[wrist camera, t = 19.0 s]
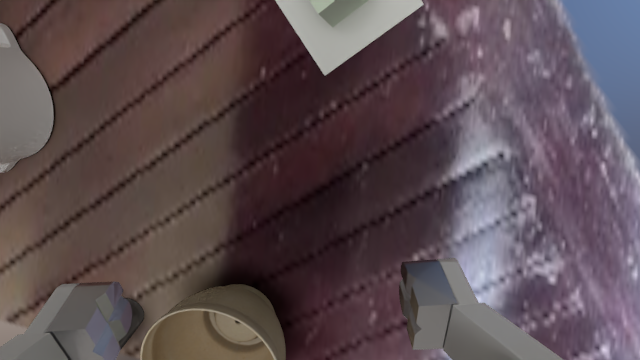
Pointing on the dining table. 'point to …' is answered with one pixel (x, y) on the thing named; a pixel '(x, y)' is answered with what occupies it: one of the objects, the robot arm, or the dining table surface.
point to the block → (336, 9)
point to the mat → (344, 28)
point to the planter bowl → (217, 328)
